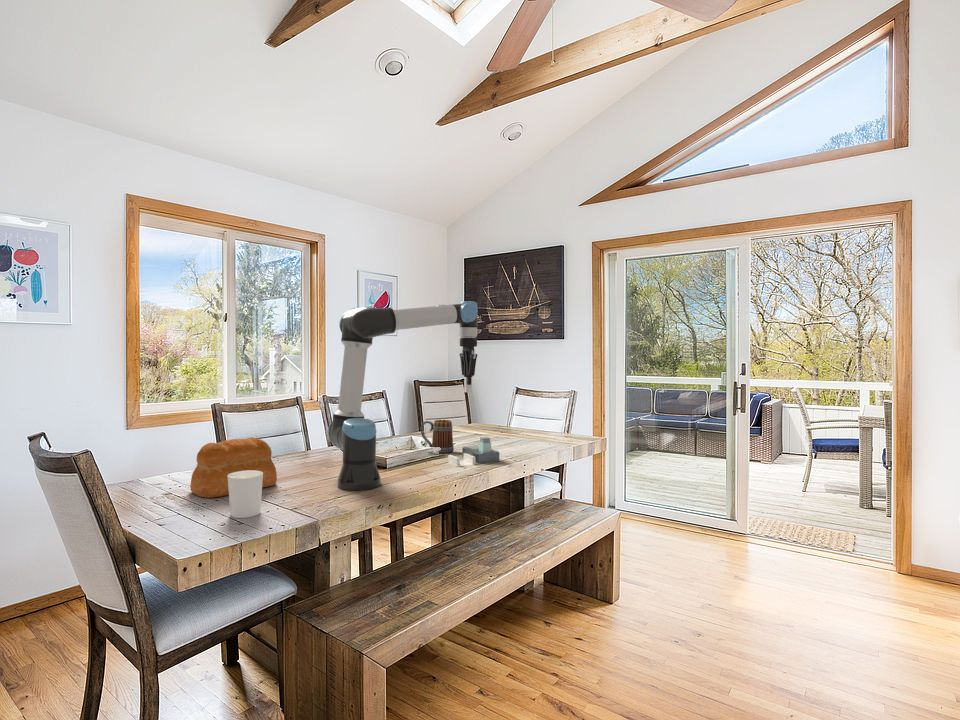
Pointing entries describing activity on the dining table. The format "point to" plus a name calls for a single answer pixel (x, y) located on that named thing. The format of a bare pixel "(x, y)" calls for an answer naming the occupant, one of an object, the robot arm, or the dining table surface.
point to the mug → (440, 435)
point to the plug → (484, 445)
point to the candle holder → (245, 493)
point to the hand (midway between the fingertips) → (467, 392)
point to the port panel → (481, 455)
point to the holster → (466, 461)
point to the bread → (230, 465)
